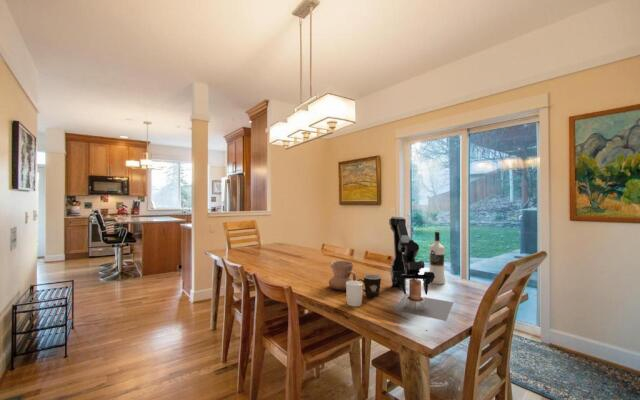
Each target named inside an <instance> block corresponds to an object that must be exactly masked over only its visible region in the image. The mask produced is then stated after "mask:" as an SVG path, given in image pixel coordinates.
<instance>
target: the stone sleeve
mask: <svg viewBox="0 0 640 400" xmlns="http://www.w3.org/2000/svg"><path fill="white" fill-rule="evenodd" d="M405 307H406V308H407V309H409V310H413V311H423V310H425V298H423V296H421V301H413V300H409V296H406V297H405Z"/></svg>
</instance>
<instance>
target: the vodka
mask: <svg viewBox="0 0 640 400" xmlns="http://www.w3.org/2000/svg"><path fill="white" fill-rule="evenodd" d="M445 252H446V251H445V246H444V245H443V244H441V243H440V231H435V232H434V242H433V243H432V244H430V245H429V265H428V266H429V271H428V272H433V273H434V275H435V278H434V280H433V282H432V283H431V284H434V285H443V284H445V283H446V277H445Z"/></svg>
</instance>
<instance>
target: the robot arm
mask: <svg viewBox="0 0 640 400" xmlns="http://www.w3.org/2000/svg"><path fill="white" fill-rule="evenodd" d="M406 221H407V220H406V218H404V217H402V216H398V217H397V216H394V217H393V216H391V218H389V219H388V223H389V224H388V225H389V226H390V227H389V228H390V230H391V231H392V233H393V246H394V247H393V249H394V250H393V251H394V259H393V260H392V263H391V266H390V271H389V273H390V278H391V285H390V286H391V287H392V288H395V289H396V288H397V289H400V290H401V292H403V294H404V295H406V294H407V290H406V286H407V281H406V280H410V279H418V280H422V282H423V283H422V284H423V285H422V286H423V290H424V293H425V296H427V295H428V291H429V285H431V284H433V283H432V282H433V280H434V278H435V275H434V273H433V272H429V271H424V273H423V274H419V273H420V272H421V271H420V270H421V269H424V268H425V261H424V260H419V261H416V258H417V256H418V253H419V250H420V246H419V244H418V243H417V242H415V241H414V239H412V238H411V237H410V236H409V233H408V229H407V223H406Z"/></svg>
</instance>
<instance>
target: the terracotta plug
mask: <svg viewBox="0 0 640 400" xmlns="http://www.w3.org/2000/svg"><path fill="white" fill-rule="evenodd" d="M408 280H409V283H408V284H409V285H408V287H409V288H408V290H409V293H408V295H409V300H413V301H421V297H422V279H408Z"/></svg>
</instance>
